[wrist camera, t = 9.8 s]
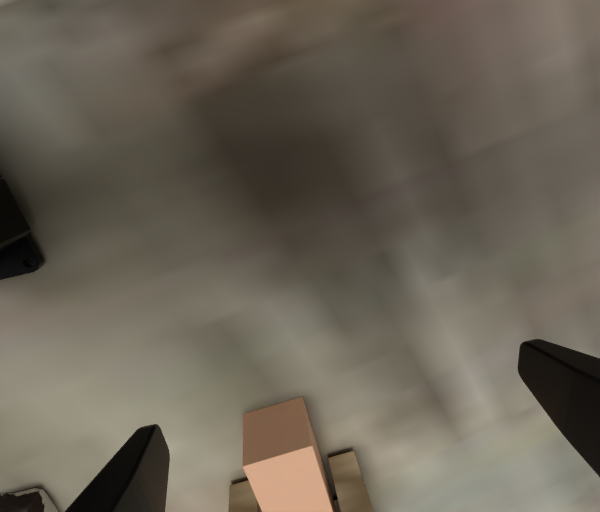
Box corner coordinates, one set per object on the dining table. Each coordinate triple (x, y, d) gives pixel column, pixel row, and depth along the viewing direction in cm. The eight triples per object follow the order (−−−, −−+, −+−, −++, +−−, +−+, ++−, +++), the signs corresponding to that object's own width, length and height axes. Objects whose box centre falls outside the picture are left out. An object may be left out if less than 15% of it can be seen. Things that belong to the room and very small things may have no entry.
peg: (301, 394, 23) (312, 445, 19) (331, 492, 27) (345, 550, 23) (243, 411, 23) (242, 466, 19) (281, 507, 27) (286, 569, 23)
